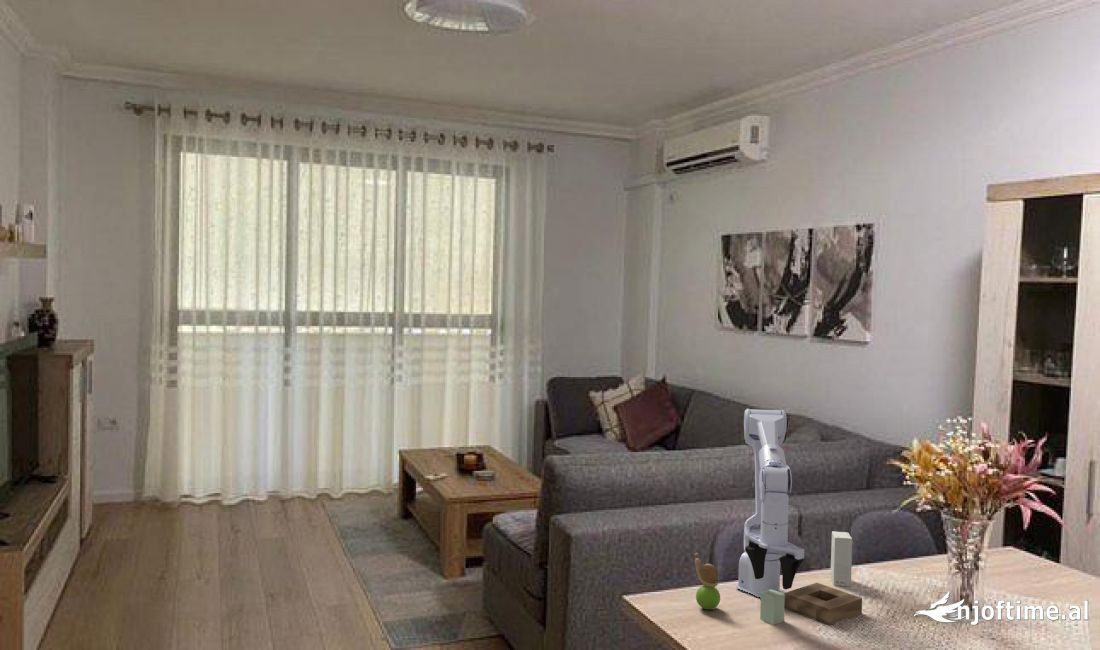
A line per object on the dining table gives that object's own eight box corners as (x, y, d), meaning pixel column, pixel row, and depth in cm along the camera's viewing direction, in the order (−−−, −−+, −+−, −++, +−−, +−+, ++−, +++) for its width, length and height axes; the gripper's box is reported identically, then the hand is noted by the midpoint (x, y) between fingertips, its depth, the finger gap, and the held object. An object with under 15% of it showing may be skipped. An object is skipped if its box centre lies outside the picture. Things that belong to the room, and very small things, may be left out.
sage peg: (760, 619, 180) (760, 592, 180) (770, 615, 182) (771, 589, 182) (773, 624, 177) (774, 597, 177) (784, 621, 179) (784, 594, 179)
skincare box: (851, 587, 201) (852, 538, 200) (833, 585, 202) (834, 537, 201) (847, 578, 207) (848, 532, 206) (830, 577, 208) (831, 530, 207)
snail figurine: (701, 601, 190) (702, 550, 190) (724, 609, 185) (725, 556, 185) (687, 607, 186) (688, 555, 186) (711, 615, 182) (712, 562, 181)
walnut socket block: (784, 607, 187) (784, 592, 186) (816, 597, 194) (816, 582, 194) (829, 625, 177) (829, 609, 177) (861, 613, 184) (862, 598, 184)
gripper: (736, 516, 182) (735, 577, 183) (790, 532, 170) (788, 596, 171) (757, 512, 186) (755, 571, 187) (811, 527, 175) (809, 590, 175)
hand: (772, 583), depth 179 cm, fingers open, 7 cm apart
